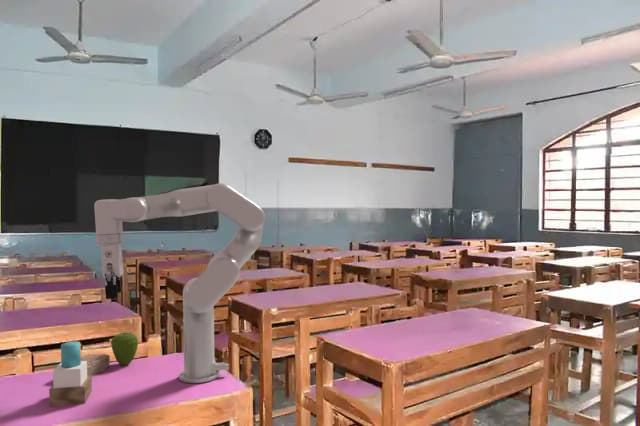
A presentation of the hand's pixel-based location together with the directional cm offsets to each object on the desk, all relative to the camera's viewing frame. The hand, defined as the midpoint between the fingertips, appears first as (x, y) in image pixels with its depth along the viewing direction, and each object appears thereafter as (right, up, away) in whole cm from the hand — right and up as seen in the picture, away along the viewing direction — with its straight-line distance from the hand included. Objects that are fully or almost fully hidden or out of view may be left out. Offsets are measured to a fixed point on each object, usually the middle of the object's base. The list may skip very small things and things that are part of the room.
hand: (113, 295), depth 154 cm
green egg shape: (-4, -27, +20) cm, 34 cm away
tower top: (-8, -23, -11) cm, 27 cm away
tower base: (-8, -28, -10) cm, 31 cm away
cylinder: (-8, -18, -10) cm, 22 cm away
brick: (-14, -28, +10) cm, 33 cm away
